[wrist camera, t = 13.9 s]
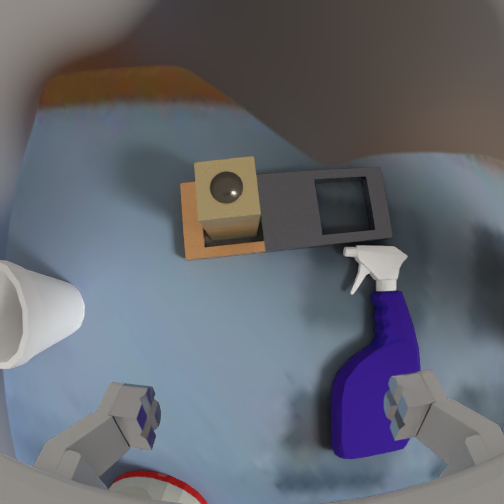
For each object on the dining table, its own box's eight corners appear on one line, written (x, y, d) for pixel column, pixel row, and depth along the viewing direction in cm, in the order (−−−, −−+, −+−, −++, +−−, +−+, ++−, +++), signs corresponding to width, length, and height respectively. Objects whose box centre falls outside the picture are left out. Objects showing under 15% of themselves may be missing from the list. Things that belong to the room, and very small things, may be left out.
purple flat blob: (415, 448, 30) (426, 243, 32) (330, 465, 29) (335, 243, 32) (405, 439, 32) (413, 247, 35) (324, 453, 32) (328, 247, 35)
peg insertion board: (375, 171, 35) (380, 167, 34) (387, 239, 34) (392, 237, 33) (182, 187, 34) (180, 183, 33) (188, 260, 34) (185, 259, 32)
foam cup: (111, 307, 33) (46, 316, 20) (70, 362, 32) (3, 390, 19) (59, 251, 34) (-12, 237, 21) (23, 308, 33) (-48, 312, 20)
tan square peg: (251, 195, 35) (254, 155, 23) (256, 236, 34) (260, 213, 23) (209, 199, 34) (193, 161, 23) (213, 240, 34) (197, 220, 23)
